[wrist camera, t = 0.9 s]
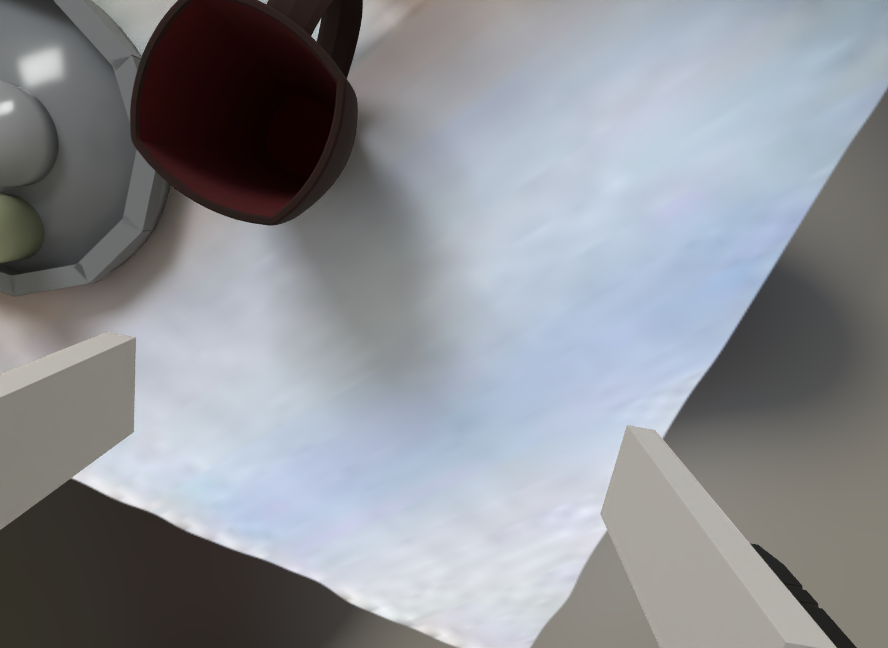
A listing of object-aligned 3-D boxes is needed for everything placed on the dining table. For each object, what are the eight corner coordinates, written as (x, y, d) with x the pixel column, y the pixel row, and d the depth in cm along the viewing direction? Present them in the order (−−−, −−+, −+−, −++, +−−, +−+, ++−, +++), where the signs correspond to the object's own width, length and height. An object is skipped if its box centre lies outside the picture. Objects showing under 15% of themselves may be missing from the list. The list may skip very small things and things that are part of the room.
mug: (216, 164, 36) (102, 149, 25) (301, -24, 33) (217, -143, 22) (336, 235, 37) (281, 253, 26) (430, 59, 34) (416, -11, 23)
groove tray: (-122, -92, 33) (-162, -112, 31) (203, 35, 34) (186, 24, 32) (-143, 227, 38) (-179, 229, 36) (138, 326, 39) (120, 333, 37)
